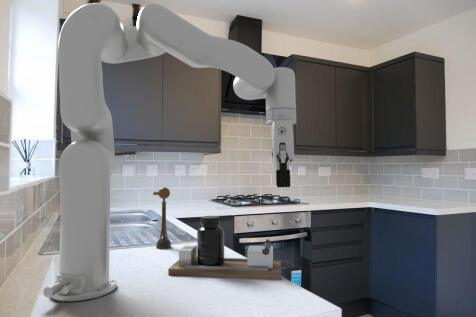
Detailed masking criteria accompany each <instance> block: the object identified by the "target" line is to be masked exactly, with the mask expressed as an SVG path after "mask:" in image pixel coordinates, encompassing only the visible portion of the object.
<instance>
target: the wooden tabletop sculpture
mask: <svg viewBox="0 0 476 317" xmlns="http://www.w3.org/2000/svg"><path fill="white" fill-rule="evenodd" d="M152 195H153V196H158V197H159V198H160V199H162V201H161V226H160V235H159V239H158V240H157V241H156V245H155V248H156V250H157V249H158V250H168V249H170V248H172V243H171V240H170V239H169V238H168V232H167V201H166V199H168V198H169V197H170V195H171V190H169V188H168V187H165V186H164V187H161V188H160V189H159V190H158V191H153V193H152Z"/></svg>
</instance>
